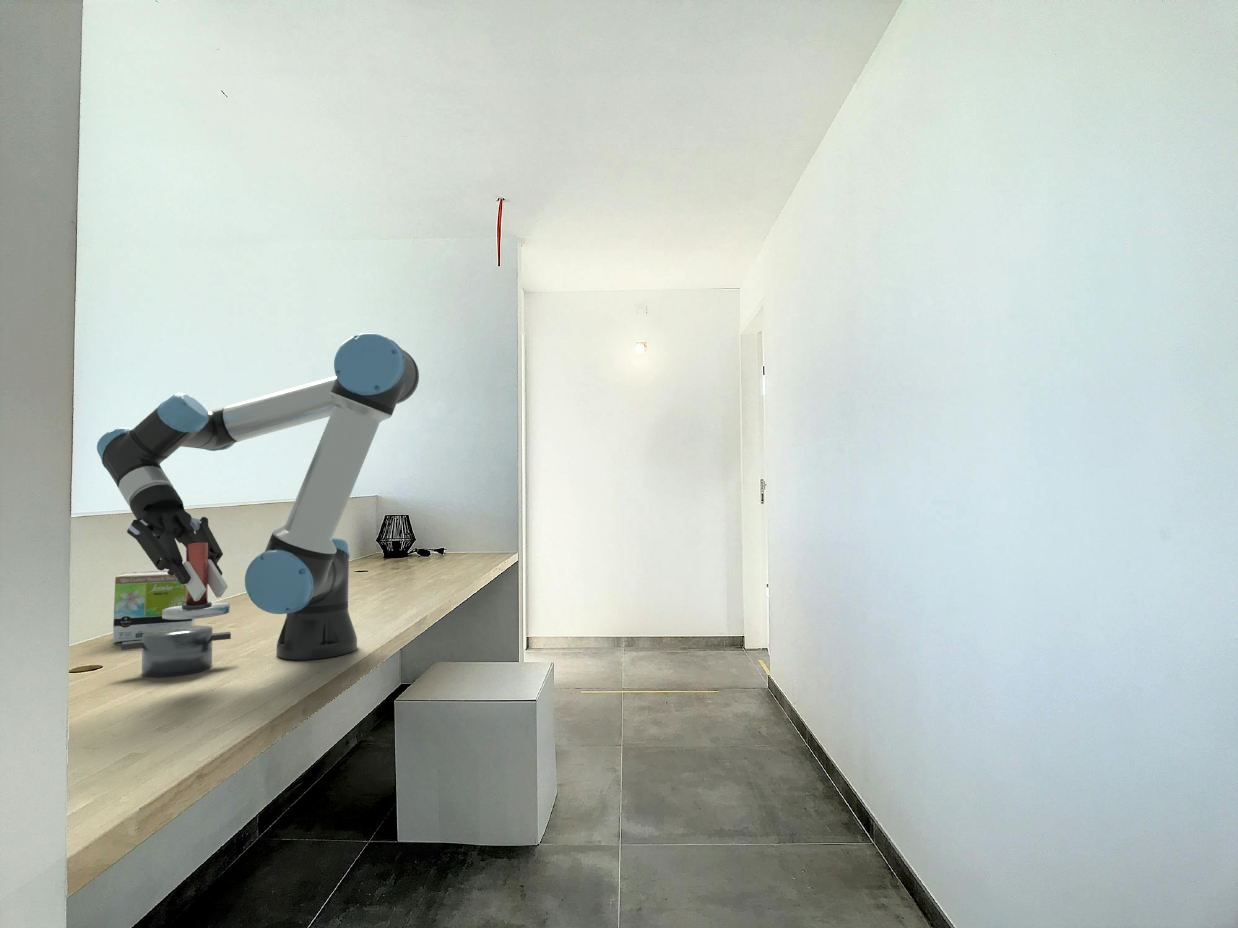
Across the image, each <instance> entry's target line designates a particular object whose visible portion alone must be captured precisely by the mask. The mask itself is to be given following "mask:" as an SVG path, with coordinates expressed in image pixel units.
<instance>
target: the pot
mask: <svg viewBox="0 0 1238 928" xmlns="http://www.w3.org/2000/svg"><path fill="white" fill-rule="evenodd" d="M231 637H232V633H231V631H223V632H222V631H220V632H214V633H213V626H208V625H195V626H179V627H170V628H163V629H157V630H153V631H149V632H146V633H144V634H143V635H142V640H131V641H121V642H122V643H121V646H120V647H121V651H126V650H127V651H128V650H138V649H141V675H142V676H143V677H147V678H148V677H149V678H169V677H178V676H185V675H193V674H195V673H199V672H203V671H206V670H208V669H210V668H211V667H213V641H223V640H231Z"/></svg>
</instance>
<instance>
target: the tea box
mask: <svg viewBox="0 0 1238 928" xmlns="http://www.w3.org/2000/svg"><path fill="white" fill-rule="evenodd" d="M168 571H169V570H162V571H161V570H148V571H125V572H122V573H120V574H119V575H117V576H115V579H114V600H113V601H114V604H113V606H114V607H113V621H112V623H113V627H112V628H113V631H112V632H113V637H112V638H113V639H112V640H113V644H114V643H115V644H116V643H121V642H129V641H140V640H142V635H143V634H144V633H146V632H149V631H153V630H157V629H163V628H170V627H179V626H196V625H195V624H196V619H184V620H168V619H163V618H162V610H163V609H166V608H170V607H175V606H181V605H183V604H186V586H185V584H181V583H180V582H179V581H178V579H177V578H176V576H175V574H174V575H169V574H168V573H167V572H168Z"/></svg>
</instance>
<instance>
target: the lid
mask: <svg viewBox="0 0 1238 928" xmlns="http://www.w3.org/2000/svg"><path fill="white" fill-rule="evenodd" d="M188 561H189V562H190V564H191V565H192V567H193V569H194V570H195V572H196V574H197V575H198V577H199V578H200V580H201V582H202V583H203V585H204V587H205V588H206V591H205V592H204V594H203V595H202V597H201V598H200V600H199V601H194V599H193V598H192V596H191V594H190V593H189V591H188V589H187V588H186V604H183V605H181V606H175V607H170V608H166V609H163V610H162V618H163V619H168V620H184V619H195V620H196V619H205V618H213V617H217V616H219V617H220V616H222V615H223V616H224V615H227V614H229V613H231V604H230V603H228V602H212V601H209V598H208V597H209V596H208V595H209V592H208V590H209V589H208V586H209V585H208V543H206V542H204V543H187V544H186V547H185V562H188Z"/></svg>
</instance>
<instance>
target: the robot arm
mask: <svg viewBox="0 0 1238 928" xmlns="http://www.w3.org/2000/svg"><path fill="white" fill-rule="evenodd" d="M333 361H334V362H333V369H334V374H335V376H332V377H328V378H324V379H321V380H316V381H313V382H309V383H305V384H303V385H298V386H295V387H292V388H288V389H284V390H280V391H277V392H274V393H270V394H266V395H263V396H259V397H256V398H251V399H248V400H246V401H245V400H244V401H242V402H237V403H234V404H231V405H227V406H224V407H220V408H216V409H213V410H209V411H208V410H207V409H206V407H204V406H203V404H201V403H200V402H199V401H198V400H197V399H196V398H194V397H192V396H190V395H188V394H187V393H184V392H183V393H182V392H176V393H174V394H173V395H172V396H170V397H169V398H167V399H166V400H164V401H162V402H161V403H160V404H159V405H158V407H156V408H154V410H153V411H151V413H149V414H148V415H147V416H146V417H145V418H143V419H142V420H141V421H140V422H139V423H138V424H137V425H136V426H135V427H134V428H131V427H119V428H114V430H113V431H112V430H111V431H107V432H106V433H105V434H103V435H102V436H101V437H100V438H99V439H98V441H97V444H96V451H97V453H98V456H99V457H100V460H101V464H102V466H103V468H105V470H106V471H107V472H108V474H109V475H110V477H111V479H112V480H113V481H114V483H115V484H116V486H117V488H118V490H119V492H120V494H121V496H122V497H123V499H124V501H125V503H126V504H127V505H128V506H129V509H130V511H131V512H132V514H133V515H134V517H135V519H133V521H132V522H131V524H129V527H128V529H127V530H126V533H127V534H129V535H130V536H131V537H132V538H134V539H135V540H136V542H137V543H138V544H139V546H140V547H141V548H142V550H143V551H144V553H145V554H146V555H147V557H148V558H149V559H150V561H151V562H152V564H153V565H154V566H155V568H156V569H157V571H165V570H167V571H168V572H167V573H168V574H169V575H174V574H175V576H176V578H177V579H178V581H179V582H180V583H181V584H185V586H186V588H187V589H188V591H189V593H190V594H191V596H192V598H193V599H194V601H199V600H200V598H201V597H202V595H203V594H204V592H205V591H206V588H205V587H204V585H203V583H202V582H201V580H200V578H199V577H198V575H197V574H196V572H195V570H194V569H193V567H192V565H191V564H190V562H189V561H188V562H186V561H184V559H183V557H182V554H181V551H180V548H179V545H178V543H179V544H182V545H183V546H184V547H185V548H186V544H187V543H204V542H206V543H208V586H209V588H210V589H211V591H212V593H213V595H214V596H215V597H216V599H218V598H222V596H223V595H224V593H225V592H226V591H227V589H228V588H229V586H228V584H227V582H226V581H225V579H224V578H223V571H222V570H221V568H220V566H219V565H218V563H219V561H220V560H221V558H222V557H223V555H224V553H223V550H222V549H221V547H220V545H219V543H218V542H217V540H216V538H215V536H214V534H213V532H212V530H211V528H210V526H209V519H208V517H206V516H201V518H200V519H198V518H195V517H192V515H191V514H190V513H188V512H187V511H186V509H185V506H184V502H183V500H182V498H181V496H180V495H179V494H178V492H177V490H176V489H175V488H174V485H173V484H172V482H171V480H170V479H169V478H168V476H167V475H166V473H165V472H164V470H163V468H162V466H161V464H162V462H164V461H165V460H166V459H168V458H169V457H170V456H171V455H172V454H174V453H175V452H177V450H178V449H179V448H180V447H183V448H190V449H191V448H193V449H201V450H206V451H210V452H211V451H213V452H216V451H224V450H228V449H230V448H231V447H233V445H234V444H236V443H238V442H242V441H246V440H249V439H253V438H257V437H259V436H263V435H267V434H270V433H274V432H278V431H282V430H284V429H285V430H287V429H288V428H293V427H296V426H299V425H303V424H306V423H311V422H314V421H317V420H321V419H324V418H328V420H327V423H326V424H325V428H324V429H323V430H324V431H323V432H322V435H321V437H320V439H319V443H318V445H317V447H316V449H315V451H314V454H313V457H312V459H311V462H310V464H309V466H308V469H307V470H306V474H305V475H304V479H303V482H302V483H301V486H300V489H299V490H298V492H297V496H296V498H295V501H294V503H293V505H292V508H291V509H290V513H289V514H288V516H287V517H288V518H287V520H286V523H285V524H284V525H282V526H280V527H277V528H276V529H274V530H273V531H272V533H271V536H270V538H269V539H268V542H267V544H266V547H265V549H264V552H262V553H260V554H258V555H257V556H255V558H253V560H252V561H250V563H249V565H248V567H247V568H246V572H245V575H244V587H245V591H246V593H247V595H248V597H249V598H250V601H251V602H252V603H253V604H254V605H255V606H256V607H257V608H259V609H260V610H261V611H263V612H266V613H268V614H269V613H270V614H273V615H283V614H284V615H285V614H286V616H285V619H284V622H283V625H282V628H281V631H280V633H279V637H278V639H277V643H276V657H278V658H280V659H284V660H298V661H299V660H303V661H304V660H318V659H319V660H320V659H326V658H333V657H337V656H342V655H346V654H349V653H352V652H354V651H356V650H357V649H358V637H357V633H356V631H355V628H354V625H353V622H352V619H351V616H350V613H349V565H350V564H349V563H350V562H349V559H350V552H349V544H348V541H346V540H345V539H343V538H336V537H334V536H335V534H336V531H337V529H338V526H339V525H340V524H339V523H340V522H341V520H342V516H343V514H344V513H345V509H346V506H347V504H348V502H349V499H350V497H351V494H352V492H353V490H354V487H355V484H356V482H357V479H358V477H359V475H360V472H361V469H362V468H363V465H364V463H365V460H366V458H367V455H368V453H369V451H370V447H371V446H372V443H373V442H374V441H373V440H374V438H375V436H376V433H377V430H378V428H379V426H380V423H381V422H383V421H385V420H388V419H390V418H392V416H393V413H394V411H395V408H396V406H397V404H401V403H402V402H403V403H404V402H405V401H407V400H408V399H409V398H411V396H412V395H413V394H414V393H415V391H416V390H417V388H418V385H419V381H420V372H419V367H418V365H417V362H416V361H415V360H414V358H413V357H412V355H410V353H408V352H407V351H406V350H404V349H402V347H400V346H399V345H398V344H397V343H396V342H395V341H394V340H392V339H390V338H388V337H386V336H383V335H382V334H377V333H373V332H366V333H358V334H356V335H354V336H351V337H350V338H348V339H347V340H345V341H344V342H343V343H341V345H340V346H339V348H338V350H337V351H336V354H335V356H334V360H333ZM177 542H178V543H177Z"/></svg>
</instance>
